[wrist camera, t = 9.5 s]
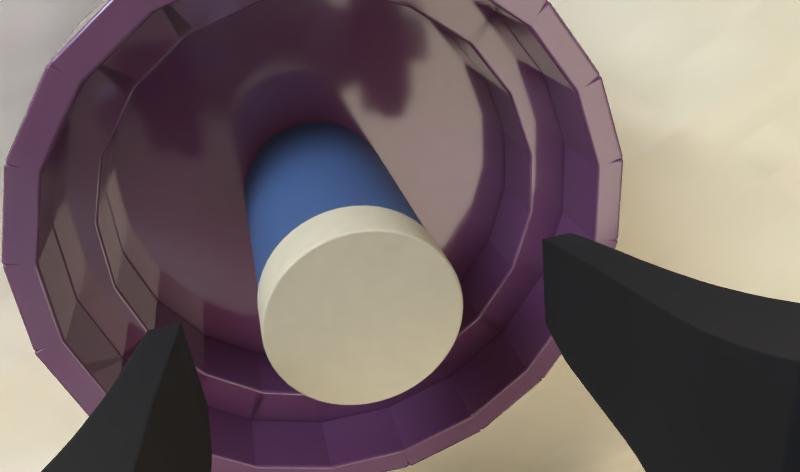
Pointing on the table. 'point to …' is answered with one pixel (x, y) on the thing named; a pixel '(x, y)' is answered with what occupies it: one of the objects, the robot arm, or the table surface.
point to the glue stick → (345, 270)
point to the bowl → (226, 210)
